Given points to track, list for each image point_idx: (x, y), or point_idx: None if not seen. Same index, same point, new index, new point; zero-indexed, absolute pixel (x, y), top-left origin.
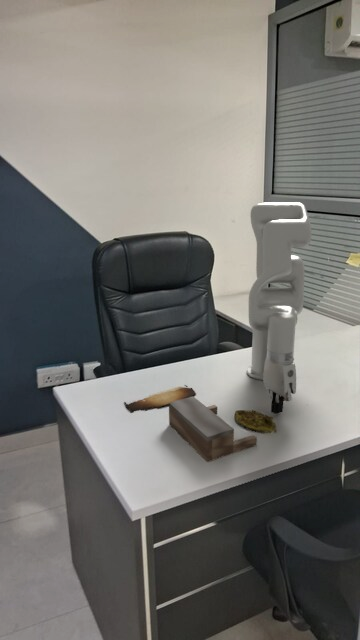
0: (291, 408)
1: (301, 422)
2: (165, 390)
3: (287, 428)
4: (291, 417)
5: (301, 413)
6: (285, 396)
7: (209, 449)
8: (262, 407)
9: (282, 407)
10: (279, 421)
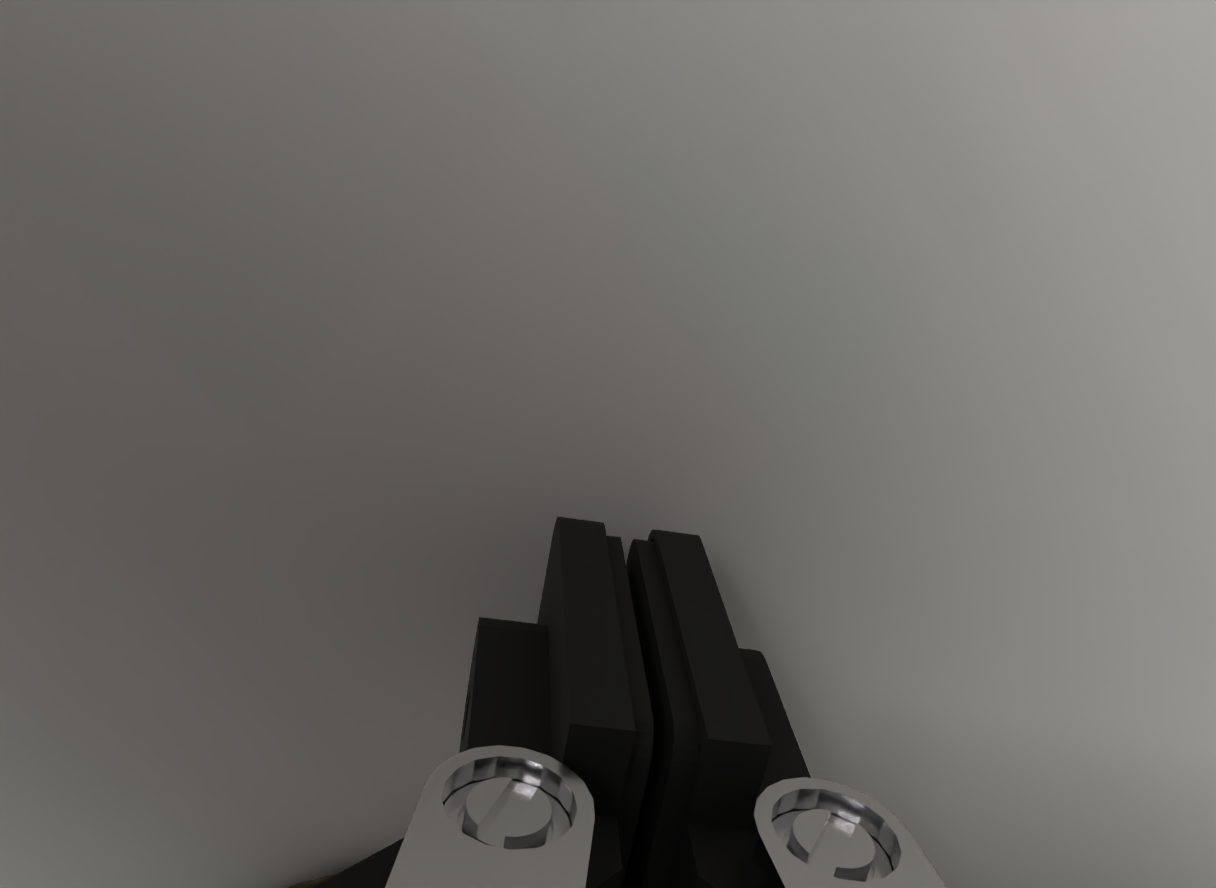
0: (616, 26)
1: (1208, 424)
2: None
3: (1096, 808)
4: (911, 424)
5: (987, 45)
6: None
7: None
8: (108, 594)
9: (778, 699)
10: (824, 743)
